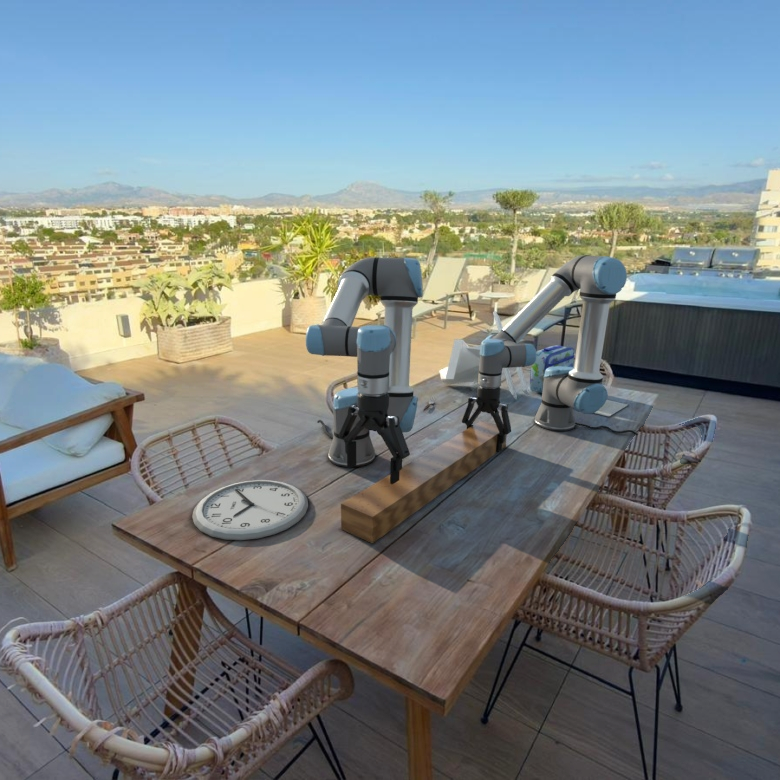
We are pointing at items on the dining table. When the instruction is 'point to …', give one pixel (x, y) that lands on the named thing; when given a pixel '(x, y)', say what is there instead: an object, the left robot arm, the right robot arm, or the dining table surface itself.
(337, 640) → the dining table surface
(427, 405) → the fork
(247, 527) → the wall clock
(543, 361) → the lunch box
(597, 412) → the invitation card
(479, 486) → the dining table surface
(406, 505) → the wide beam
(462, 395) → the dining table surface
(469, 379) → the white plastic object
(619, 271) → the right robot arm
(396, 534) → the dining table surface
